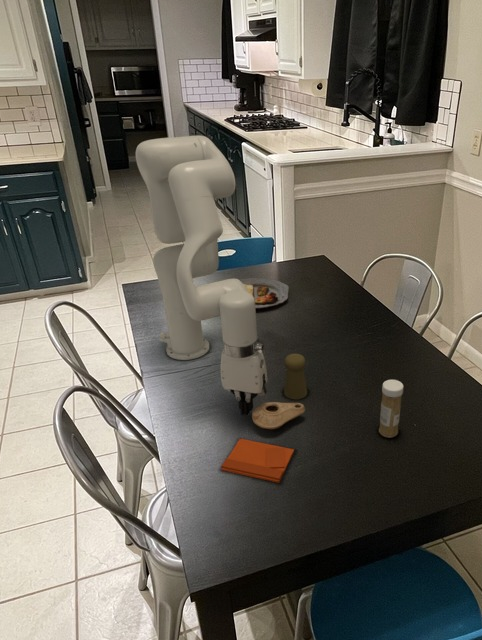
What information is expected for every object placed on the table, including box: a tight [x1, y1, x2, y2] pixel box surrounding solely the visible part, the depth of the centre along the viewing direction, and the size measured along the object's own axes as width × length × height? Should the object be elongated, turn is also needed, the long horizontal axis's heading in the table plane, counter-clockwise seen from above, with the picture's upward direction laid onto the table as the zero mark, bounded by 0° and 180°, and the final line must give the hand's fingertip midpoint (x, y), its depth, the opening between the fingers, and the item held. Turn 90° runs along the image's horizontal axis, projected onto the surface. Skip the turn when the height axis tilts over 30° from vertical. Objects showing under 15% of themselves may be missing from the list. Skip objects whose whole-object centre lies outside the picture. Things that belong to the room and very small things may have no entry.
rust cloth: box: [220, 438, 295, 484], centre depth 109 cm, size 13×10×1 cm
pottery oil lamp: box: [251, 401, 306, 430], centre depth 118 cm, size 9×12×7 cm
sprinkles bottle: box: [378, 379, 404, 439], centre depth 113 cm, size 5×5×13 cm
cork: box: [283, 353, 308, 400], centre depth 127 cm, size 6×6×11 cm
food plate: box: [239, 277, 290, 310], centre depth 180 cm, size 25×23×4 cm
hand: (246, 411), depth 121 cm, fingers closed
